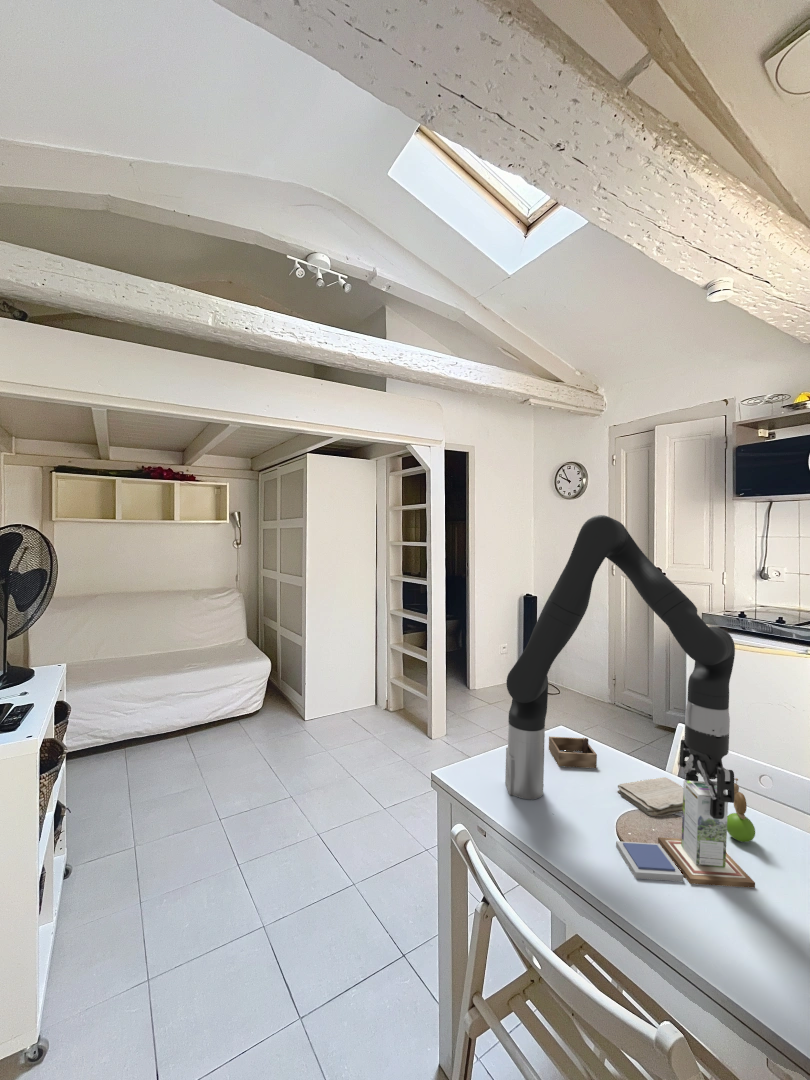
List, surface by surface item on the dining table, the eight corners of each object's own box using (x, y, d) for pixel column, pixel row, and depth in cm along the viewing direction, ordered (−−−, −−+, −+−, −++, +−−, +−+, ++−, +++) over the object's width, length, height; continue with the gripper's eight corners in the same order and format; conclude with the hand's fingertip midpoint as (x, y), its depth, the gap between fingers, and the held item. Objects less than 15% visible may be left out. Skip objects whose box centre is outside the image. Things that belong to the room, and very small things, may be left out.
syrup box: (709, 849, 94) (710, 780, 94) (726, 869, 88) (728, 796, 88) (680, 846, 95) (682, 778, 95) (696, 866, 89) (698, 793, 89)
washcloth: (613, 793, 117) (614, 782, 117) (665, 783, 123) (666, 772, 123) (652, 821, 106) (652, 808, 106) (707, 808, 112) (707, 796, 112)
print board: (690, 883, 86) (690, 877, 86) (658, 841, 98) (658, 836, 98) (755, 887, 85) (755, 881, 85) (714, 845, 97) (714, 839, 97)
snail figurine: (747, 832, 102) (748, 779, 102) (759, 850, 96) (760, 794, 96) (719, 826, 104) (720, 775, 104) (729, 844, 98) (730, 789, 98)
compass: (561, 752, 139) (562, 728, 139) (589, 759, 135) (589, 735, 135) (555, 762, 132) (556, 738, 132) (584, 770, 128) (584, 745, 128)
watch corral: (558, 766, 130) (558, 752, 130) (548, 749, 141) (549, 736, 141) (596, 768, 129) (596, 754, 129) (583, 750, 140) (583, 738, 140)
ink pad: (635, 878, 87) (635, 870, 87) (616, 846, 96) (616, 839, 96) (683, 881, 86) (683, 873, 86) (659, 849, 95) (659, 841, 95)
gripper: (669, 711, 99) (666, 784, 99) (709, 740, 84) (705, 825, 84) (704, 713, 98) (701, 786, 98) (750, 742, 84) (747, 828, 84)
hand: (703, 804), depth 91 cm, fingers open, 8 cm apart
